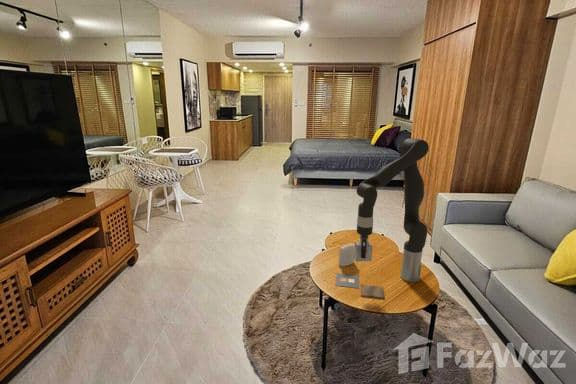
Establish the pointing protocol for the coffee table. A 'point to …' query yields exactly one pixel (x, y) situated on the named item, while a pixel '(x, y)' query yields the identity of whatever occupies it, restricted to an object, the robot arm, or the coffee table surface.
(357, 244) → the medicine box
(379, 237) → the coffee table surface
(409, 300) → the coffee table surface
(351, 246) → the photo printer
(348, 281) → the tile
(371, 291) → the walnut mat
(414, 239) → the robot arm
